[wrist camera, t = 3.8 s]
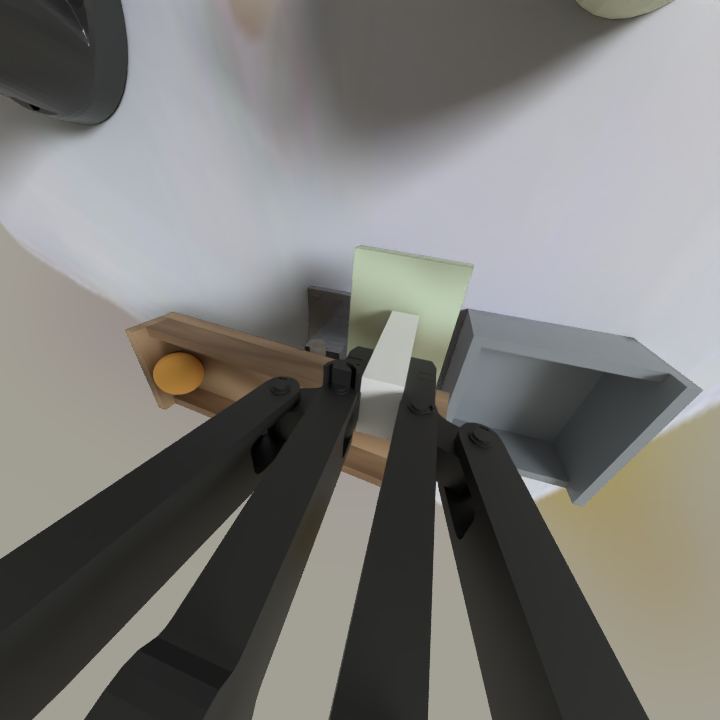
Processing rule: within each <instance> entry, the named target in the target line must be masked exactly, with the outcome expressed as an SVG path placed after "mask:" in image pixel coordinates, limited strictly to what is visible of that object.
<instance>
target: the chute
mask: <svg viewBox="0 0 720 720" xmlns="http://www.w3.org/2000/svg"><path fill="white" fill-rule="evenodd" d="M473 267H474V264H470V263H464V262H458V261H452V260H446V259H440V258H434V257H428V256H422V255H416V254H411V253H405V252H399V251H393V250H387V249H381V248H375V247H369V246H363V245H360V246H358V247H355V249H354V262H353V276H352V289H351V302H350V316H349V329H348V343H347V356H348V354H349V352H350V351H351V350H352V349H354V348H356V347H357V346H360V347H365V348H369V349H374V350H375V348H376V345H377V343H378V341H379V339H380V337H381V334H382V332H383V330H384V328H385V326H386V324H387V321H388V319H389V317H390V315H391V313H392V311H397V312H403V313H408V314H413V315H418V316H419V321H418V326H417V330H416V335H415V340H414V345H413V349H412V354H411V357H414V358H419V359H424V360H428V361H432V362H433V363H434V365H435V367H436V368H437V373H436V385H437V381H438V378H439V375H440V372H441V369H442V366H443V363H444V359H445V356H446V353H447V350H448V347H449V344H450V341H451V337H452V334H453V331H454V328H455V325H456V322H457V318H458V315H459V312H460V309H461V306H462V303H463V300H464V296H465V293H466V290H467V287H468V284H469V281H470V278H471V274H472V271H473ZM125 331H126V333H127V336H128V338H129V340H130V342H131V345H132V347H133V349H134V352H135V354H136V356H137V358H138V361H139V363H140V365H141V367H142V370H143V372H144V374H145V376H146V378H147V381H148V383H149V385H150V388H151V390H152V392H153V394H154V397H155V399H156V401H157V403H158V406H159V407H160V408H162V409H167V408H169V407H170V406H172V405H173V404H175V403H176V404H179V405H181V406H184V407H186V408H189V409H191V410H193V411H196V412H198V413H201V414H203V415H206V416H208V417H211V418H212V417H214V416H215V415H217V414H218V413H220V412H221V411H223V410H224V409H226V408H227V407H229V406H230V405H232V404H233V403H235V402H236V401H238V400H239V399H241V398H242V397H244V396H245V395H247V394H248V393H249V392H251V391H252V390H254V389H255V388H257V387H258V386H260V385H261V384H263V383H264V382H266V381H268V380H270V379H272V378H275V377H280V376H284V377H291V378H294V379H295V380H297V381H298V383H299V385H300V388H319V387H321V386H322V385H323V366H324V365H325V364H326V363H327V362H329V361H332V360H335V359H332V358H328V357H326V342H325V341H324V340H322V339H314V340H311V341H310V352H308V351H305V350H301V349H298V348H294V347H291V346H288V345H284V344H281V343H277V342H274V341H270V340H267V339H264V338H260V337H257V336H253V335H250V334H247V333H243V332H240V331H236V330H233V329H230V328H226V327H223V326H219V325H216V324H213V323H209V322H206V321H202V320H199V319H196V318H192V317H189V316H185V315H182V314H179V313H175V312H172V313H169V314H166V315H164V316H161V317H158V318H156V319H153V320H150V321H147V322H145V323H142V324H139V325H137V326H134V327H131V328H129V329H126V330H125ZM176 352H182V353H188V354H191V355H193V356H194V357H196V358H197V359H198V360H199V361H200V362H201V363H202V365H203V368H204V378H203V380H202V382H201V384H200V385H199V386H198V387H197V388H196V389H195V390H193V391H191V392H189V393H186V394H180V395H176V394H170V393H167V392H165V391H163V390H161V389H160V388H159V387H158V386H157V385H156V383H155V381H154V378H153V370H154V367H155V365H156V363H157V362H158V361H159V360H160V359H161V358H162V357H164V356H166V355H168V354H171V353H176ZM347 356H346V357H347ZM449 395H450V393H448V392H444V391H441V390H437V389H436V396H435V405H436V407H437V410H438V413H439V414H440V415H441V416H442V417H443V418H444V419H446V416H447V409H448V402H449ZM390 443H391V441H390V440H386V439H383V438H379V437H375V436H372V435H368V434H365V433H361V432H357V431H356V426H355V429H354V431H353V437H352V443H351V446H350V448H349V451H348V454H347V456H346V459H345V462H344V464H343V467H342V470H341V471H343V472H345V473H348V474H350V475H353V476H355V477H358V478H360V479H362V480H365V481H367V482H370V483H372V484H375V485H377V486H379V487H381V483H382V479H383V474H384V470H385V465H386V461H387V456H388V452H389V448H390Z"/></svg>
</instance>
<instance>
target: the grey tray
mask: <svg viewBox="0 0 720 720" xmlns="http://www.w3.org/2000/svg"><path fill="white" fill-rule="evenodd" d="M441 391H444V392H448V393H450V395H449V402H448V409H447V416H446V420H447V421H449V422H451V423H453V424H455V425H457V426H459V427H461V425H463V424H465V423H471V422H474V423H479V424H482V425H484V426H487V427H489V428H490V429H492V430H493V431H494V432H495V433H497V435H498V436H499V437H500V439H501V440H502V442H503V444H504V445H505V447H506V449H507V451H508V453H509V455H510V457H511V459H512V461H513V463H514V464H515V466H516V468H517V470H518V472H519V474H520V476H524V477H527V478H531V479H535V480H538V481H542V482H546V483H549V484H553V485H557V486H561V487H564V488H566V489H567V492H568V494H569V497H570V499H571V501H572V503H573V504H575V505H579V506H584V505H585V504H586V503H587V502H588V501H589V500H590V499H591V498H592V497H593V496H594V495H595V494H596V493H597V492H598V491H599V490H600V489H601V488H602V487H603V486H604V485H605V484H606V483H608V482H609V480H611V479H612V478H613V477H614V476H615V475H616V474H617V473H618V472H619V471H620V470H621V469H622V468H623V467H624V466H625V465H626V464H627V463H628V462H629V461H630V460H631V459H632V458H633V457H634V456H636V454H638V453H639V452H640V451H641V450H642V449H643V448H644V447H645V446H646V445H647V444H648V443H649V442H650V441H651V440H652V439H653V438H654V437H655V436H656V435H657V434H658V433H659V432H660V431H661V430H662V429H663V428H665V427H666V426H667V425H668V424H669V423H670V422H671V421H672V420H673V419H674V418H675V417H676V416H677V415H678V414H679V413H680V412H681V411H682V410H683V409H684V408H685V407H686V406H687V405H688V404H689V403H690V402H691V401H693V400H694V399H695V398H696V397H697V396H698V395H699V394H700V393H701V392H702V391H703V390H702V389H701V388H700V387H698V386H697V385H696V384H694V383H693V382H692V381H690V380H689V379H688V378H686V377H685V376H684V375H682V374H681V373H680V372H678V371H677V370H676V369H674V368H673V367H672V366H670V365H669V364H668V363H666V362H665V361H664V360H662V359H661V358H660V357H658V356H657V355H656V354H654V353H653V352H652V351H650V350H649V349H648V348H646V347H645V346H644V345H642V344H641V343H640V342H638V341H637V340H636V339H634V338H631V337H625V336H620V335H614V334H608V333H603V332H597V331H591V330H586V329H580V328H574V327H569V326H563V325H557V324H552V323H546V322H541V321H535V320H529V319H524V318H518V317H512V316H507V315H501V314H495V313H490V312H484V311H478V310H473V309H468V310H467V313H466V316H465V319H464V322H463V325H462V328H461V331H460V334H459V337H458V340H457V343H456V346H455V349H454V352H453V355H452V358H451V361H450V364H449V367H448V370H447V373H446V376H445V379H444V382H443V385H442V388H441Z"/></svg>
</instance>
